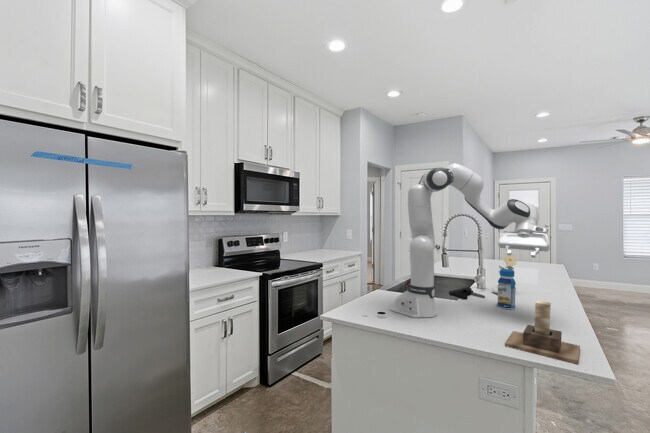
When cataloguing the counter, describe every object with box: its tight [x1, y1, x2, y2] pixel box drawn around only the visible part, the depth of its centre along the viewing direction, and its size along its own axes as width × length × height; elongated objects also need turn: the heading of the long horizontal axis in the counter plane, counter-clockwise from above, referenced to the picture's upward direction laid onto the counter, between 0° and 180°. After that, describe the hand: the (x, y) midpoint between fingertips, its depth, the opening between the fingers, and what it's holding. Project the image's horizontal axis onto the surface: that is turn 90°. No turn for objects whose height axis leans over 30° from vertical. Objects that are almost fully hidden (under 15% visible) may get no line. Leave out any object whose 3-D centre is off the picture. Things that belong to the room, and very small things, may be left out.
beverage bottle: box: [496, 268, 517, 311], centre depth 172 cm, size 8×8×20 cm
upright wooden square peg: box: [534, 300, 551, 335], centre depth 122 cm, size 4×4×14 cm
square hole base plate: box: [504, 324, 581, 365], centre depth 123 cm, size 22×16×6 cm
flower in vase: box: [491, 254, 518, 295], centre depth 199 cm, size 13×11×25 cm
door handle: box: [448, 286, 486, 300], centre depth 195 cm, size 3×20×16 cm
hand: (520, 255), depth 145 cm, fingers open, 8 cm apart
